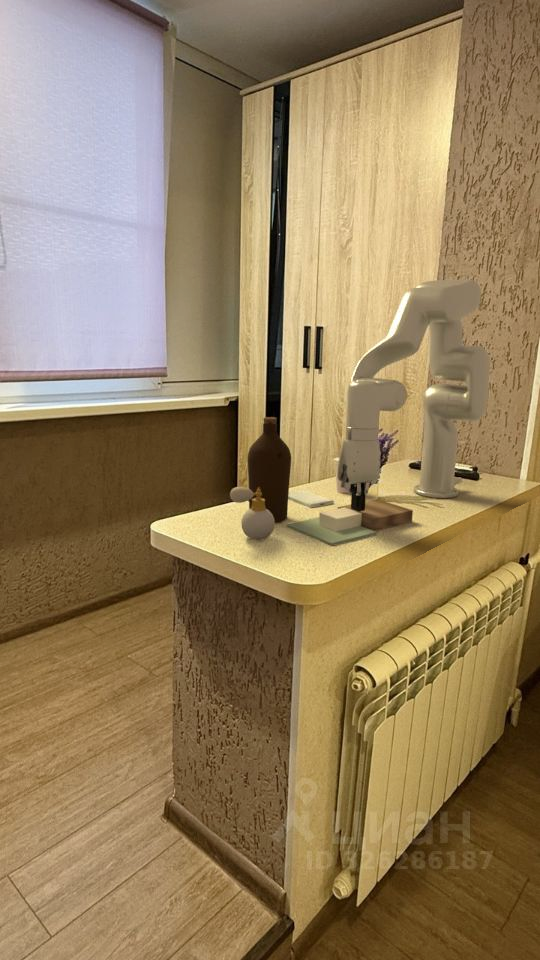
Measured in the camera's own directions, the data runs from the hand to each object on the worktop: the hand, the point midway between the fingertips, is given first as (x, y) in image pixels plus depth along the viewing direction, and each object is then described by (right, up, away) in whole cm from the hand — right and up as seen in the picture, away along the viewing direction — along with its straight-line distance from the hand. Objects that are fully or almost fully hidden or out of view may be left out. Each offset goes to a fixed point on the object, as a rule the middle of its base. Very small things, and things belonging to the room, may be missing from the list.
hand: (357, 509), depth 145 cm
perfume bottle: (-25, -6, -11) cm, 28 cm away
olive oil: (-22, -2, +5) cm, 22 cm away
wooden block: (+5, -3, +4) cm, 7 cm away
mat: (-7, -5, -4) cm, 9 cm away
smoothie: (0, +4, +31) cm, 32 cm away
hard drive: (-11, +1, +22) cm, 24 cm away
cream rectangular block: (-4, -4, -2) cm, 6 cm away
